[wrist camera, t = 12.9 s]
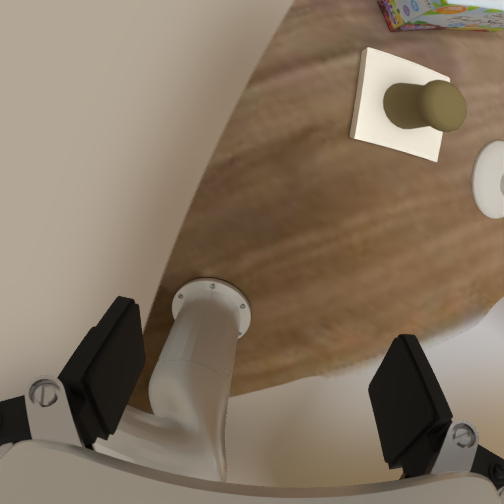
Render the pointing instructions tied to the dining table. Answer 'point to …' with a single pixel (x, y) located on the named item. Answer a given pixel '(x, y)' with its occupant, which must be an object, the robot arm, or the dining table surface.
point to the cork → (425, 105)
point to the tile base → (371, 104)
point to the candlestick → (489, 179)
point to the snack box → (444, 14)
